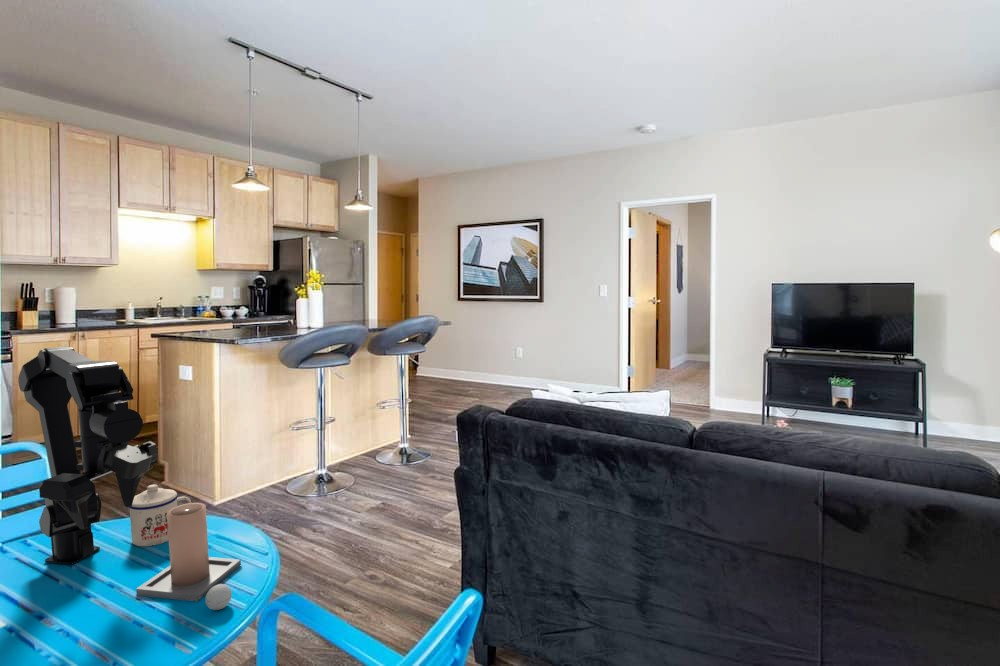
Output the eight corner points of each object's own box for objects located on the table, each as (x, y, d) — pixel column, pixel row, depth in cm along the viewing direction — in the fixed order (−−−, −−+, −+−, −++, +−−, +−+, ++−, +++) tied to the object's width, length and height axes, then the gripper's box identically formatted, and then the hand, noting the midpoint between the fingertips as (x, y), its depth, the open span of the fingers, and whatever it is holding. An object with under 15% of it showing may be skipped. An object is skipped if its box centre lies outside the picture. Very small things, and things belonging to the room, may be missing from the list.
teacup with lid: (140, 552, 111) (136, 497, 109) (124, 539, 116) (120, 487, 115) (201, 530, 120) (198, 480, 119) (183, 519, 126) (180, 471, 124)
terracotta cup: (165, 588, 97) (161, 518, 95) (178, 570, 103) (174, 504, 101) (203, 583, 98) (199, 514, 97) (213, 566, 104) (210, 501, 103)
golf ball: (200, 614, 90) (199, 592, 89) (215, 600, 94) (213, 578, 93) (223, 615, 90) (222, 592, 89) (237, 601, 94) (235, 579, 93)
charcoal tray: (136, 595, 95) (136, 588, 95) (186, 560, 107) (185, 554, 107) (197, 601, 93) (196, 595, 93) (240, 565, 105) (240, 559, 105)
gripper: (92, 451, 85) (99, 545, 87) (179, 421, 104) (184, 499, 105) (32, 448, 87) (40, 540, 89) (129, 419, 105) (134, 495, 107)
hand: (106, 517), depth 97 cm, fingers open, 9 cm apart
